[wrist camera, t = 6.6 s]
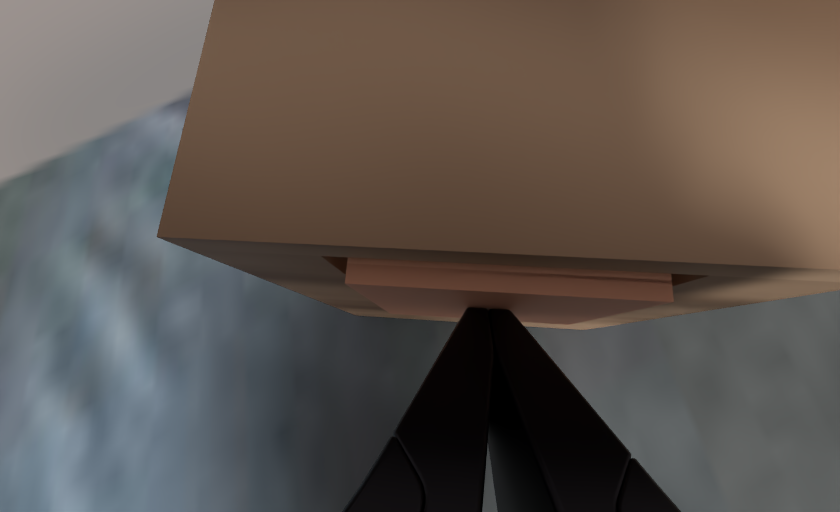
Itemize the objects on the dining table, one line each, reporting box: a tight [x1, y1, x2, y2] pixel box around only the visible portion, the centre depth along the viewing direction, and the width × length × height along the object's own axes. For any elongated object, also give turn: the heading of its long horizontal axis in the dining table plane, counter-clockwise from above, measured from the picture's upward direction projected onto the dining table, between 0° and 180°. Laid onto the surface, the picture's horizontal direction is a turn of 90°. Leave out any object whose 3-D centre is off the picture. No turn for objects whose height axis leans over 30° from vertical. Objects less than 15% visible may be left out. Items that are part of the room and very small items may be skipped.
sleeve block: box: [157, 0, 840, 330], centre depth 11 cm, size 10×9×11 cm
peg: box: [345, 257, 674, 325], centre depth 9 cm, size 10×4×4 cm, turn 176°
